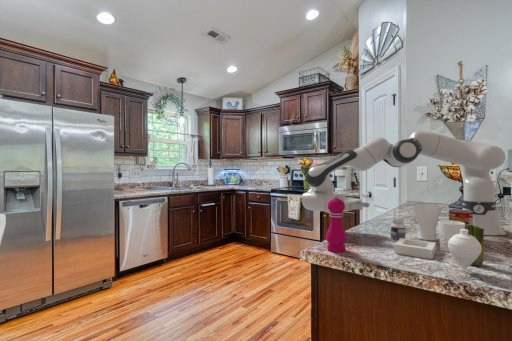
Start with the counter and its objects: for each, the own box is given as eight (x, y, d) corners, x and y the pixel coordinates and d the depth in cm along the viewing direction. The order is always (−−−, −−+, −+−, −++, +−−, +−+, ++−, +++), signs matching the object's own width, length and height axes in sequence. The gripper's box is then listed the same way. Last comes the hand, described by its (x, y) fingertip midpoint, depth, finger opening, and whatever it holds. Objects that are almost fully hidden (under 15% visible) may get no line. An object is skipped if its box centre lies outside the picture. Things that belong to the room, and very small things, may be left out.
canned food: (449, 236, 121) (449, 208, 120) (472, 239, 116) (472, 210, 116) (448, 240, 114) (448, 211, 114) (473, 243, 110) (473, 212, 110)
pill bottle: (388, 239, 117) (388, 217, 117) (400, 239, 117) (400, 217, 117) (395, 242, 112) (395, 220, 112) (408, 242, 112) (408, 220, 112)
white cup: (457, 255, 96) (457, 225, 96) (433, 249, 103) (433, 221, 103) (470, 251, 100) (470, 223, 99) (446, 246, 107) (446, 219, 106)
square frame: (400, 245, 107) (400, 237, 107) (435, 251, 100) (435, 242, 100) (394, 253, 98) (394, 244, 98) (432, 259, 91) (432, 249, 91)
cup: (448, 240, 115) (448, 207, 114) (429, 242, 111) (429, 208, 111) (425, 234, 124) (425, 203, 124) (407, 236, 121) (407, 205, 121)
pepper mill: (348, 253, 98) (347, 195, 98) (326, 252, 99) (326, 195, 99) (345, 247, 105) (345, 193, 105) (325, 246, 106) (325, 193, 106)
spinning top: (452, 274, 78) (452, 231, 78) (444, 265, 85) (444, 225, 85) (486, 278, 76) (486, 233, 75) (475, 268, 83) (475, 227, 83)
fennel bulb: (486, 268, 83) (487, 227, 83) (466, 266, 85) (466, 226, 85) (480, 262, 88) (480, 223, 88) (461, 260, 90) (461, 222, 90)
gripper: (325, 198, 122) (358, 201, 114) (342, 195, 138) (372, 197, 130) (325, 213, 122) (357, 216, 114) (342, 208, 138) (372, 210, 130)
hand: (365, 206), depth 122 cm, fingers open, 8 cm apart
